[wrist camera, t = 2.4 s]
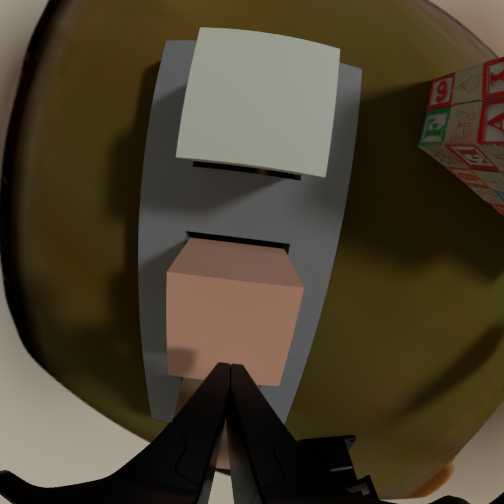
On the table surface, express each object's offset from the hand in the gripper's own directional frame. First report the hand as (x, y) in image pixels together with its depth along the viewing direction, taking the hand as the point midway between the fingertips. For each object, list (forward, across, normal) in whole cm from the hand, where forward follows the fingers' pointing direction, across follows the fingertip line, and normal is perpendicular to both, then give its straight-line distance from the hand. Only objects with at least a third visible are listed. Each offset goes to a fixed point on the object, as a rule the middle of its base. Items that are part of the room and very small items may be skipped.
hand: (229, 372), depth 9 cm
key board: (+9, 0, 0) cm, 9 cm away
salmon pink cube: (+7, 0, 0) cm, 7 cm away
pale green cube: (+7, 0, -9) cm, 11 cm away
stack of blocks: (+9, -22, -11) cm, 26 cm away
